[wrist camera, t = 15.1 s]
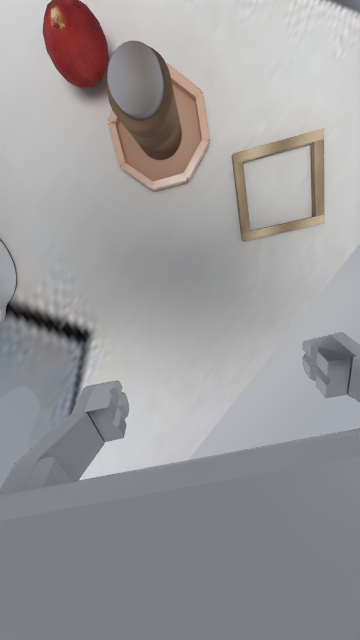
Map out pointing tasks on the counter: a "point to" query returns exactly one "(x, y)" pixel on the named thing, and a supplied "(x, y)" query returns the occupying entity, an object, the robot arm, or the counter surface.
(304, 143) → the holder frame
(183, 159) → the dish
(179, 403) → the counter surface
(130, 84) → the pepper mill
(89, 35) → the onion
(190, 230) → the counter surface
